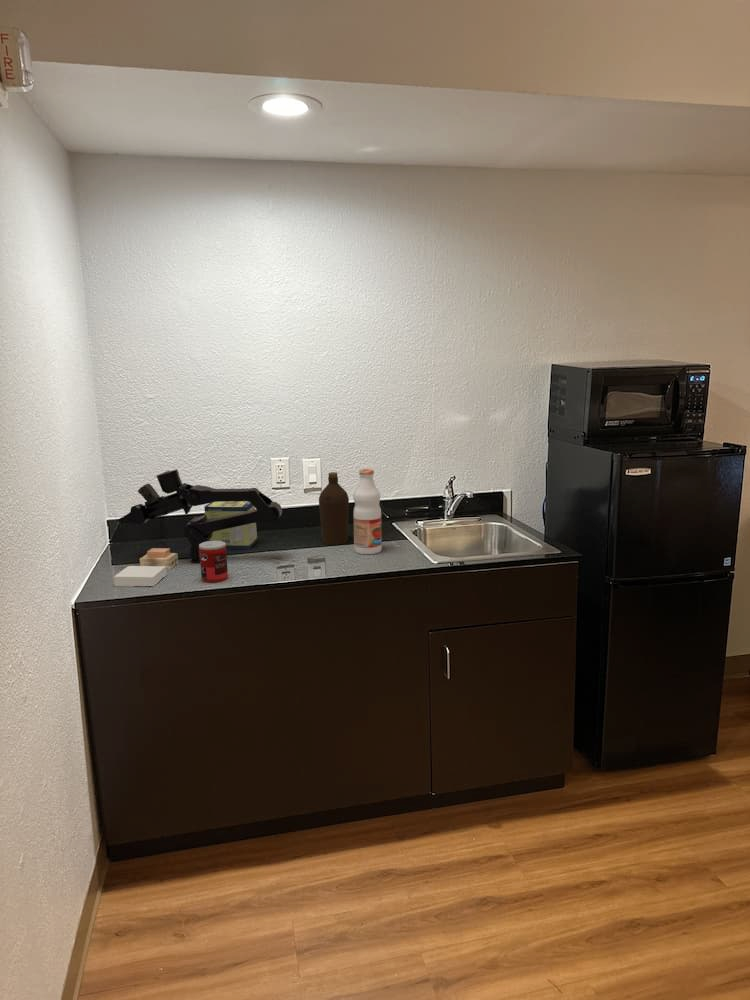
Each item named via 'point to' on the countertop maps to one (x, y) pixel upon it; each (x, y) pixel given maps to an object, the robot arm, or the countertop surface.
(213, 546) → the canned food
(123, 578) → the white flat block
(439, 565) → the countertop surface
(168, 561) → the pallet
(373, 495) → the fruit juice
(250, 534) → the protein box
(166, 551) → the block
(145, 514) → the robot arm
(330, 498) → the olive oil
